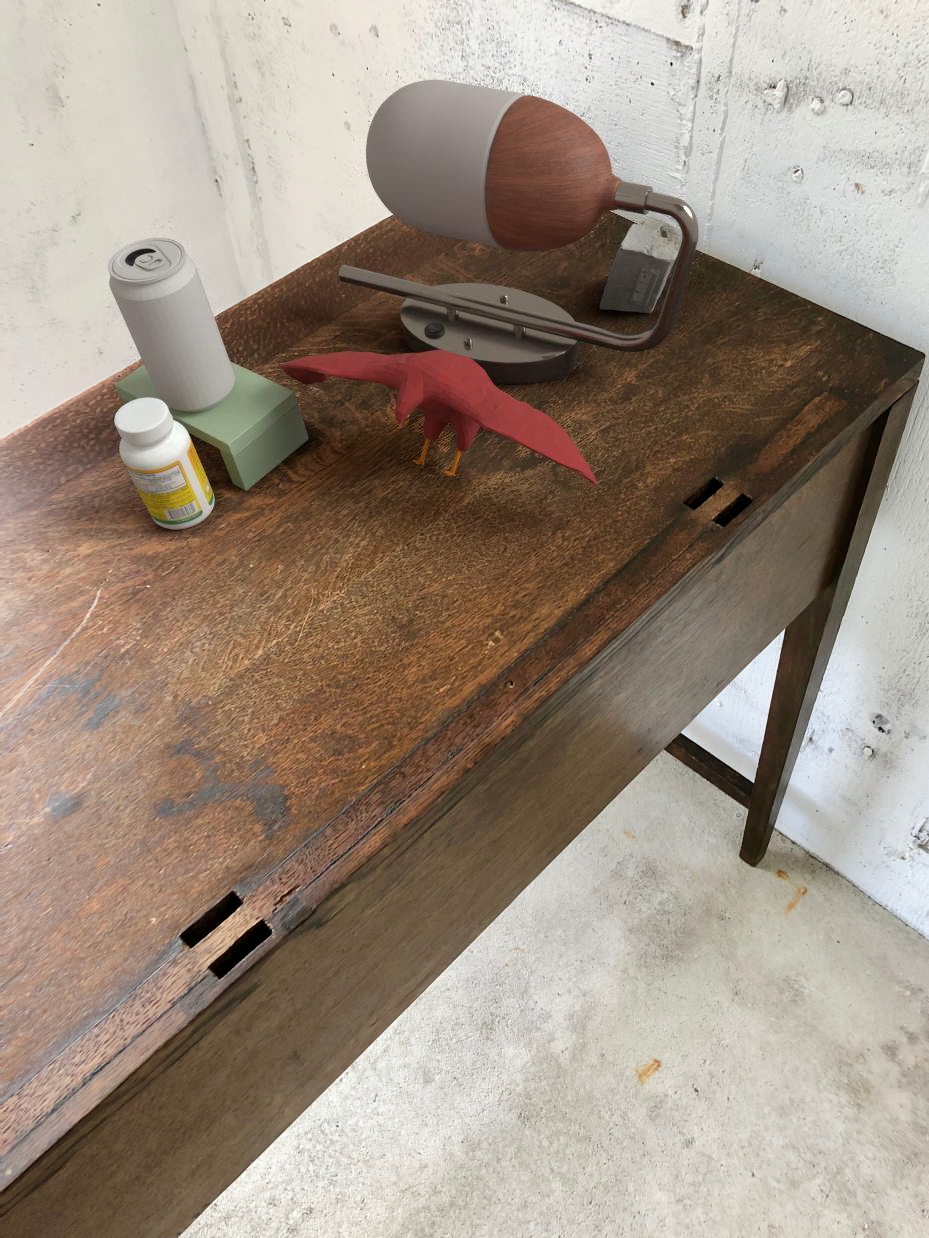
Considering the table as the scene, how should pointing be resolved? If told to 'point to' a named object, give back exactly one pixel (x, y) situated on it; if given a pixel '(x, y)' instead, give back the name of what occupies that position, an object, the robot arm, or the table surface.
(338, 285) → the table surface
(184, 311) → the beverage can
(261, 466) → the shelf
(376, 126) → the light fixture
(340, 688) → the table surface
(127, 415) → the supplement bottle
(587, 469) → the decorative bird sculpture
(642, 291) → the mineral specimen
